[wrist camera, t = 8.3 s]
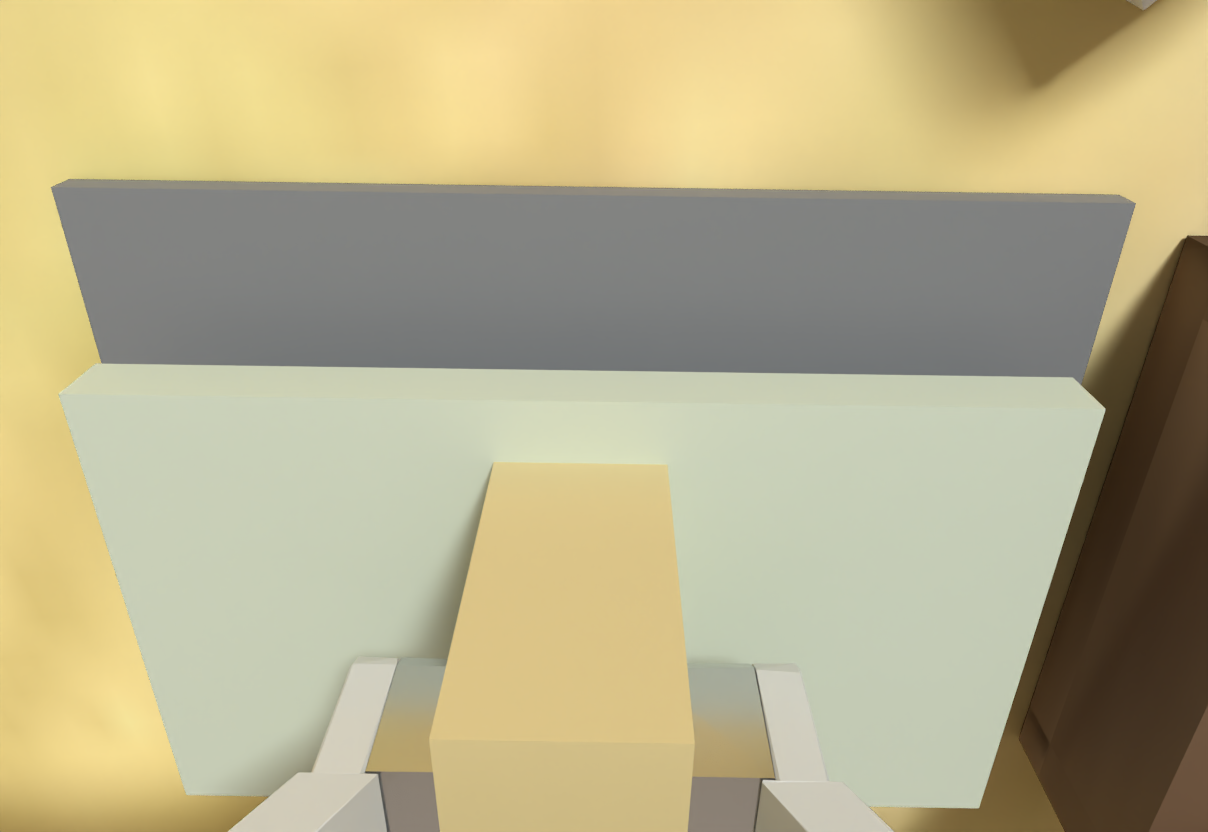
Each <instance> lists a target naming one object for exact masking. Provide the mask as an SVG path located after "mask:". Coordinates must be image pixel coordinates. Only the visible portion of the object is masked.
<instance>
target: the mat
mask: <svg viewBox="0 0 1208 832" xmlns="http://www.w3.org/2000/svg"><path fill="white" fill-rule="evenodd" d="M51 189H52V192H53V196H54V199H55V202H56V206H57V209H58V213H59V216H60V220H61V223H62V227H63V230H64V234H65V237H66V241H67V244H68V248H69V251H70V255H71V258H72V262H73V265H74V269H75V272H76V276H77V279H78V283H79V286H80V290H81V293H82V297H83V300H84V303H85V307H86V310H87V314H88V317H89V321H90V324H91V328H92V331H93V335H94V338H95V342H96V345H97V349H98V352H99V356H100V359H101V363H102V364H164V365H235V366H305V367H376V368H446V369H517V370H587V371H658V372H728V373H799V374H869V375H940V376H1010V377H1073V378H1074V379H1075V380H1076V381H1077V382H1078V383H1079V384H1080V385H1081V384H1082V381H1083V377H1084V374H1085V371H1086V367H1087V364H1088V361H1089V357H1090V354H1091V351H1092V347H1093V344H1094V341H1095V337H1096V334H1097V331H1098V327H1099V324H1100V321H1101V317H1102V314H1103V311H1104V307H1105V304H1106V301H1107V297H1108V294H1109V291H1110V287H1111V284H1112V281H1113V277H1114V274H1115V271H1116V267H1117V264H1118V261H1119V258H1120V254H1121V251H1122V248H1123V244H1124V241H1125V238H1126V234H1127V231H1128V228H1129V224H1130V221H1131V218H1132V214H1133V211H1134V208H1135V204H1136V203H1134V202H1132V201H1130V200H1128V199H1126V198H1124V197H1122V196H1120V195H1095V194H1028V193H961V192H894V191H827V190H761V189H694V188H627V187H560V186H494V185H427V184H360V183H293V182H226V181H160V180H93V179H68V180H66V181H64V182H62V183H59V184H57V185H55V186H53V187H51Z"/></svg>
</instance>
